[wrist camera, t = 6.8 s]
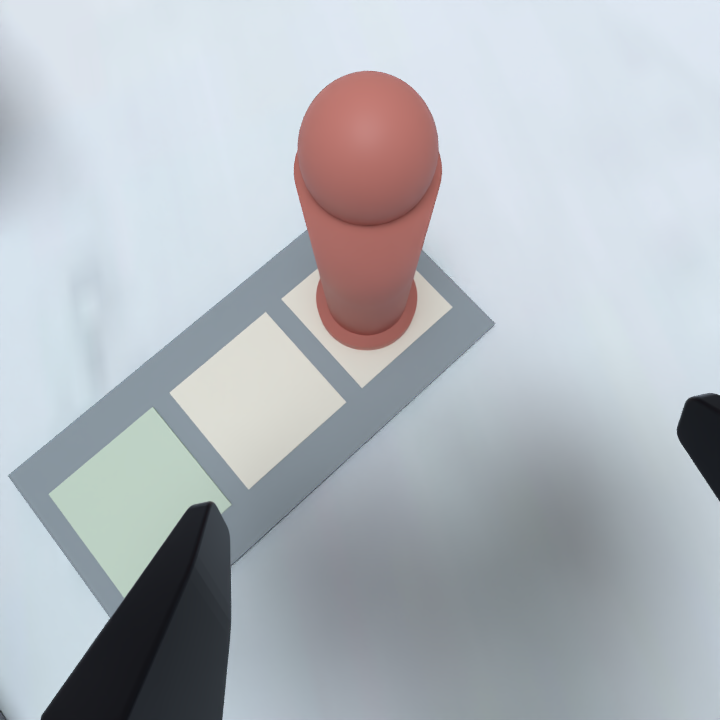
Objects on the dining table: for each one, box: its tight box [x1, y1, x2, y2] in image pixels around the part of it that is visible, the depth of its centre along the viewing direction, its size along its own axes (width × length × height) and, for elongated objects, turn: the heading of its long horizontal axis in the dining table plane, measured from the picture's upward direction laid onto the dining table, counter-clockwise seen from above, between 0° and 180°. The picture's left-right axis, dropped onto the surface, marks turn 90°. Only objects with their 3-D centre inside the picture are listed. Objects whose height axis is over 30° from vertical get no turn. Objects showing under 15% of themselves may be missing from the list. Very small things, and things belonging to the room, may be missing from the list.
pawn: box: [294, 71, 442, 350], centre depth 16 cm, size 5×5×13 cm
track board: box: [8, 230, 495, 618], centre depth 22 cm, size 10×22×1 cm, turn 132°
